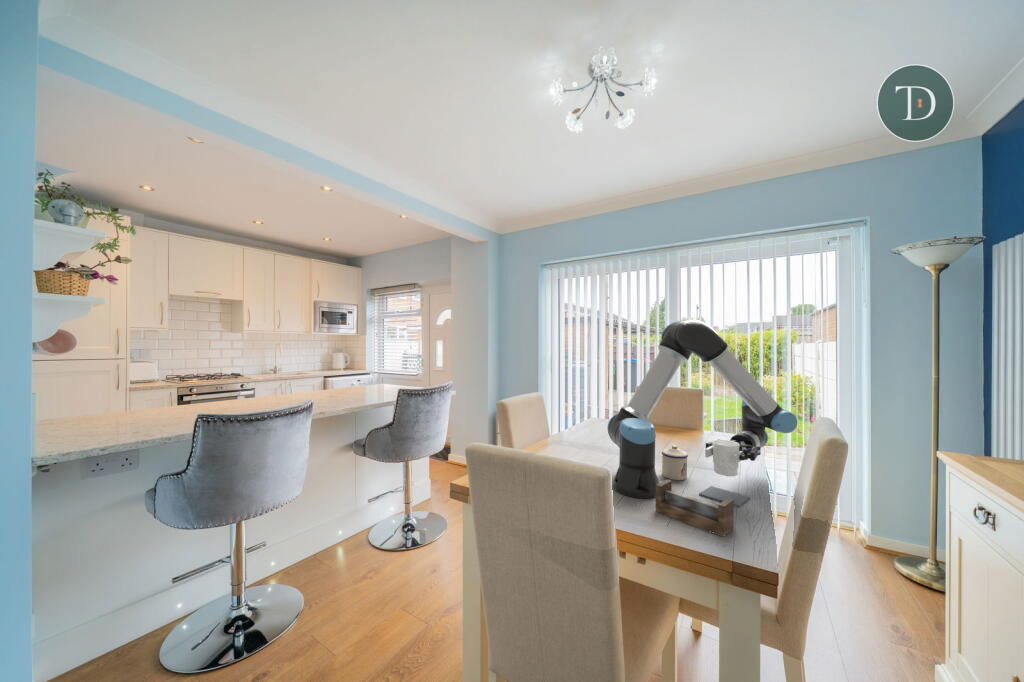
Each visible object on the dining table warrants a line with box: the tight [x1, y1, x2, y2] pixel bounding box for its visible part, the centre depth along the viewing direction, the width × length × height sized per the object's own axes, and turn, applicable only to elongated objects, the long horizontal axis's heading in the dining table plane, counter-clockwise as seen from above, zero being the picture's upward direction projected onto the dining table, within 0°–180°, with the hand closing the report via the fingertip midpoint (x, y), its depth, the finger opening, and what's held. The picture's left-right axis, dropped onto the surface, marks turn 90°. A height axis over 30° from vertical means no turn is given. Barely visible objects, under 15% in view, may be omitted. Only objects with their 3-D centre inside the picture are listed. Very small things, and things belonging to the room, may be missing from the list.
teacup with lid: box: [661, 444, 689, 481], centre depth 144 cm, size 12×9×12 cm
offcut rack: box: [655, 478, 735, 537], centre depth 108 cm, size 19×7×8 cm, turn 41°
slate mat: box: [698, 485, 751, 508], centre depth 124 cm, size 12×10×1 cm
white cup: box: [711, 439, 740, 477], centre depth 124 cm, size 8×8×10 cm
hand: (720, 456), depth 121 cm, fingers closed on white cup, 8 cm apart
